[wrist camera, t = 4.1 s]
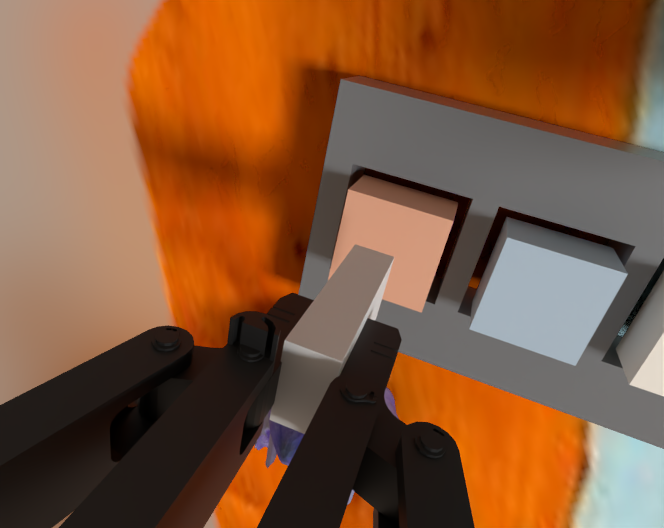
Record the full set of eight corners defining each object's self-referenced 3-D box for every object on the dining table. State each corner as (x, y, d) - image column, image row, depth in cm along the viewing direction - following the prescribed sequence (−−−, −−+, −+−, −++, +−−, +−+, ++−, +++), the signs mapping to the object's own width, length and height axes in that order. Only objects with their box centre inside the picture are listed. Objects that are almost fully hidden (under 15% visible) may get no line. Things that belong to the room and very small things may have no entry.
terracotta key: (364, 174, 21) (348, 189, 19) (458, 202, 21) (453, 221, 18) (344, 258, 23) (327, 280, 21) (429, 286, 23) (421, 312, 20)
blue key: (506, 216, 20) (507, 237, 18) (613, 248, 19) (627, 274, 17) (472, 300, 22) (468, 329, 20) (567, 332, 21) (575, 366, 19)
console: (359, 75, 22) (340, 78, 20) (871, 204, 18) (934, 230, 15) (314, 289, 28) (294, 313, 25) (698, 424, 24) (722, 470, 21)
